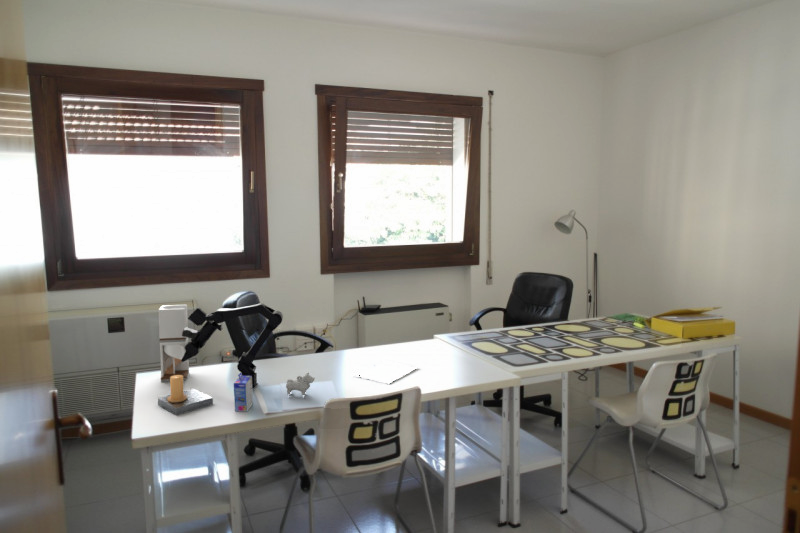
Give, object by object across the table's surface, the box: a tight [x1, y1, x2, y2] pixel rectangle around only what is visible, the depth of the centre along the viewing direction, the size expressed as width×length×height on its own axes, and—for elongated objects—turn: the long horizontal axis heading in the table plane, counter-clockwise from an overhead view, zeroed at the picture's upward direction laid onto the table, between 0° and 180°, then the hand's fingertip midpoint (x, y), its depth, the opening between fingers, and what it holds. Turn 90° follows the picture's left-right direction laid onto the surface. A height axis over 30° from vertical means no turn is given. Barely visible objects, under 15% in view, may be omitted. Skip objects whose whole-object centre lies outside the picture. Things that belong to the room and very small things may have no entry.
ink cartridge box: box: [233, 372, 254, 412], centre depth 219 cm, size 10×6×14 cm, turn 2°
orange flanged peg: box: [167, 375, 187, 404], centre depth 218 cm, size 8×8×13 cm
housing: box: [157, 388, 214, 416], centre depth 221 cm, size 16×16×3 cm
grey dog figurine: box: [285, 372, 316, 396], centre depth 233 cm, size 5×13×11 cm, turn 89°
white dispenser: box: [158, 304, 190, 383], centre depth 253 cm, size 11×11×35 cm
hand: (184, 358), depth 238 cm, fingers open, 9 cm apart
